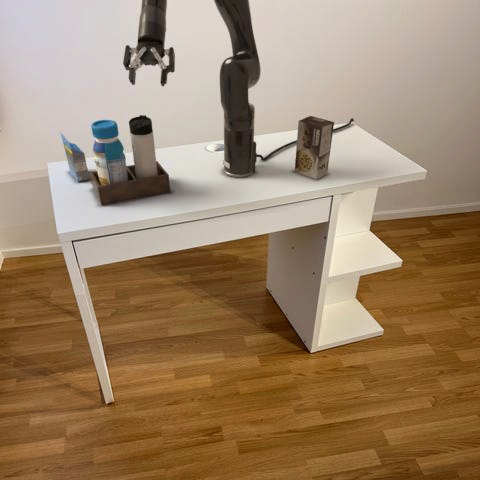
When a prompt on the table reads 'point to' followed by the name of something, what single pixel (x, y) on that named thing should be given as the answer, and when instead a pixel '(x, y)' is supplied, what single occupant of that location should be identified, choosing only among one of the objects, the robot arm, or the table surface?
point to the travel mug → (143, 147)
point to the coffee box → (313, 146)
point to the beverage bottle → (108, 153)
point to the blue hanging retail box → (76, 160)
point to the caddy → (131, 186)
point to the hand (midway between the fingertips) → (147, 84)
